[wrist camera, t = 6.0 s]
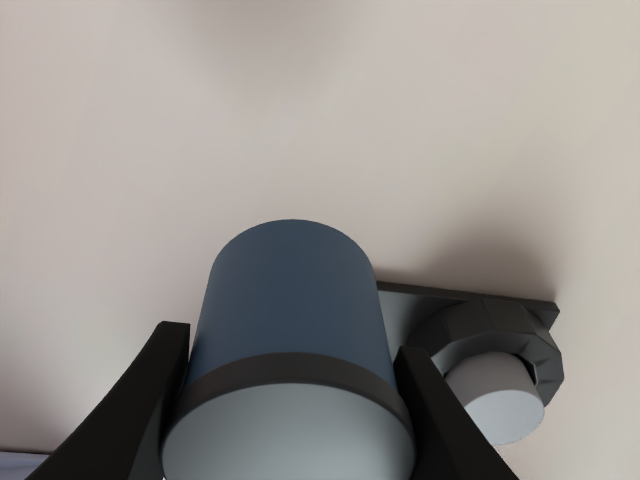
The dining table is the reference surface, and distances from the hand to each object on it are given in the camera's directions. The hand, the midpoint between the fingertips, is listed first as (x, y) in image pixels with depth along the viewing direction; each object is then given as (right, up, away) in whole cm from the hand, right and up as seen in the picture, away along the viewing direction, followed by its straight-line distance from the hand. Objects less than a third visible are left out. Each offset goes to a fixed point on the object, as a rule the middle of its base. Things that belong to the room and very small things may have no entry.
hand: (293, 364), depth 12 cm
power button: (+8, -3, +10) cm, 13 cm away
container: (0, +2, +2) cm, 3 cm away
